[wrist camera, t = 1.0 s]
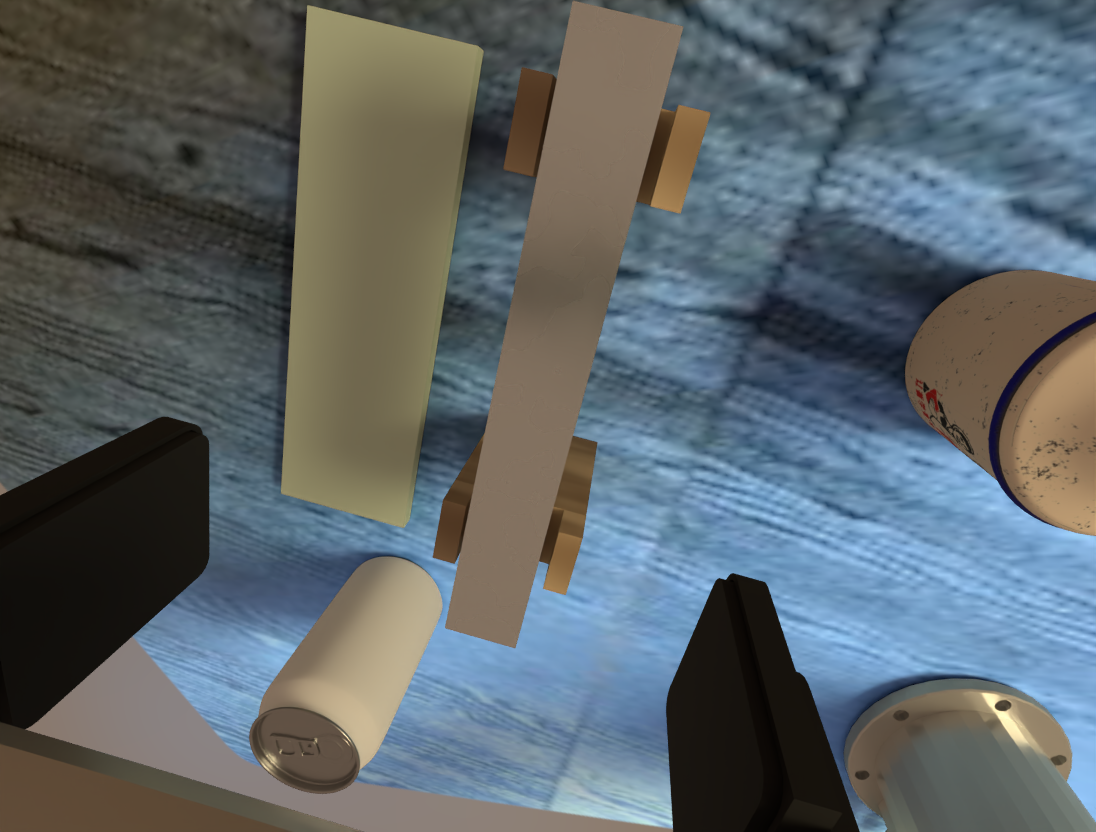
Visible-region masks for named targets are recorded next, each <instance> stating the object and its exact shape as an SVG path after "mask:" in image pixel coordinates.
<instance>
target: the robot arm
mask: <svg viewBox="0 0 1096 832" xmlns="http://www.w3.org/2000/svg"><path fill="white" fill-rule="evenodd" d="M208 560H209V440H208V439H207V437H206V436H204V435H203V433H202V430H201V428H200V427H199V426H197V425H195V424H192V423H188V422H184V421H181V420H177V419H173V418H170V417H161V418H158V419H156V420H154V421H152V422H149V423H147V424H145V425H143V426H141V427H139V428H137V429H135V430H133V431H131V432H129V433H127V434H125V435H123V436H121V437H119V438H117V439H115V440H113V441H111V442H108V443H106V444H104V445H102V446H100V447H98V448H96V449H94V450H92V451H90V452H88V453H86V454H84V455H82V456H80V457H78V458H76V459H74V460H72V461H70V462H67V463H65V464H63V465H61V466H59V467H57V468H55V469H53V470H51V471H49V472H47V473H45V474H43V475H41V476H39V477H37V478H35V479H33V480H31V481H29V482H27V483H24V484H22V485H20V486H18V487H16V488H14V489H12V490H10V491H8V492H6V493H4V494H2V495H0V832H363V831H360V830H357V829H353V828H350V827H347V826H344V825H341V824H337V823H334V822H331V821H327V820H324V819H321V818H318V817H314V816H311V815H308V814H304V813H301V812H298V811H295V810H291V809H288V808H285V807H281V806H278V805H275V804H271V803H268V802H265V801H262V800H258V799H255V798H251V797H248V796H245V795H242V794H239V793H235V792H232V791H228V790H225V789H222V788H219V787H216V786H212V785H209V784H205V783H202V782H199V781H196V780H192V779H189V778H186V777H182V776H179V775H176V774H173V773H169V772H166V771H162V770H159V769H156V768H152V767H149V766H146V765H143V764H139V763H136V762H132V761H129V760H126V759H122V758H119V757H116V756H112V755H109V754H105V753H102V752H99V751H95V750H92V749H89V748H85V747H82V746H79V745H75V744H72V743H69V742H65V741H62V740H59V739H55V738H52V737H48V736H45V735H41V734H38V733H34V732H31V731H28V730H25V729H26V728H29V727H30V726H32V725H33V724H34V723H36V722H37V721H38V720H39V719H40V718H42V717H43V716H44V715H45V714H46V713H47V712H48V711H50V710H51V709H52V708H53V707H54V706H55V705H56V704H57V703H58V702H60V701H61V700H62V699H63V698H64V697H65V696H66V695H67V694H68V693H70V692H71V691H72V690H73V689H74V688H75V687H76V686H77V685H79V684H80V683H81V682H82V681H83V680H84V679H85V678H86V677H87V676H89V675H90V674H91V673H92V672H93V671H94V670H95V669H96V668H98V666H100V665H101V664H102V663H103V662H104V661H105V660H106V659H108V658H109V657H110V656H111V655H112V654H113V653H114V652H115V651H116V650H118V649H119V648H120V647H121V646H122V645H123V644H124V643H125V642H126V641H128V640H129V639H130V638H131V637H132V636H133V635H134V634H135V633H137V632H138V631H139V630H140V629H141V628H142V627H143V626H144V625H145V624H147V623H148V622H149V621H150V620H151V619H152V618H153V617H154V616H155V615H157V614H158V613H159V612H160V611H161V610H162V609H163V608H164V607H166V606H167V605H168V604H169V603H170V602H171V601H172V600H173V599H174V598H176V597H177V596H178V595H179V594H180V593H181V592H182V591H183V590H184V589H186V588H187V587H188V586H189V585H190V584H191V583H192V582H193V581H195V580H196V579H197V578H198V577H199V576H200V575H201V574H202V572H203V571H204V569H205V568H206V565H207V563H208ZM666 717H667V734H668V750H669V767H670V784H671V801H672V818H673V832H860V831H859V829H858V826H857V823H856V820H855V817H854V814H853V811H852V808H851V806H850V803H849V800H848V797H847V794H846V791H845V788H844V785H843V783H842V780H841V777H840V774H839V771H838V768H837V765H836V762H835V760H834V757H833V754H832V751H831V748H830V745H829V742H828V739H827V737H826V734H825V731H824V728H823V725H822V722H821V719H820V716H819V714H818V711H817V708H816V705H815V702H814V699H813V696H812V693H811V690H810V688H809V685H808V683H807V681H806V679H805V677H804V676H803V675H801V674H800V673H798V672H796V670H795V667H794V664H793V661H792V658H791V655H790V652H789V649H788V646H787V643H786V640H785V637H784V634H783V631H782V628H781V625H780V622H779V619H778V616H777V613H776V610H775V607H774V604H773V601H772V598H771V595H770V592H769V589H768V586H767V584H766V583H765V582H763V581H759V580H756V579H752V578H748V577H745V576H741V575H738V574H734V573H732V574H730V575H729V576H728V578H727V579H726V580H724V579H720V578H719V579H717V580H716V582H715V583H714V585H713V588H712V590H711V592H710V595H709V597H708V599H707V602H706V604H705V606H704V609H703V611H702V614H701V616H700V618H699V621H698V623H697V625H696V628H695V630H694V632H693V635H692V637H691V639H690V642H689V644H688V646H687V649H686V651H685V653H684V656H683V658H682V660H681V663H680V665H679V667H678V670H677V672H676V674H675V677H674V679H673V681H672V684H671V686H670V689H669V692H668V696H667V703H666ZM844 762H845V768H846V771H847V773H848V776H849V779H850V782H851V785H852V787H853V788H854V790H855V792H856V794H857V796H858V797H859V798H860V799H861V800H862V801H863V802H864V804H865V805H866V806H867V807H868V808H869V809H871V810H872V811H874V812H875V813H876V814H878V815H879V816H880V817H882V818H883V820H884V822H885V825H886V827H887V830H886V831H885V832H1096V822H1095V820H1094V819H1093V818H1092V816H1091V815H1090V813H1089V812H1088V811H1087V809H1086V808H1085V806H1084V805H1083V804H1082V802H1081V801H1080V800H1079V798H1078V797H1077V795H1076V794H1075V793H1074V791H1073V790H1072V788H1071V787H1070V786H1069V784H1068V783H1067V779H1068V777H1069V774H1070V771H1071V768H1072V750H1071V746H1070V742H1069V739H1068V737H1067V736H1066V734H1065V732H1064V731H1063V729H1062V727H1061V726H1060V725H1059V723H1058V722H1057V721H1056V720H1055V718H1054V717H1053V716H1052V715H1051V714H1050V712H1049V711H1048V710H1047V709H1046V708H1045V707H1044V706H1042V705H1041V704H1040V703H1039V702H1037V701H1036V700H1035V699H1034V698H1032V697H1030V696H1028V695H1027V694H1025V693H1023V692H1021V691H1019V690H1017V689H1015V688H1012V687H1008V686H1005V685H1002V684H999V683H996V682H990V681H984V680H978V679H953V678H952V679H942V680H933V681H928V682H923V683H919V684H915V685H911V686H908V687H906V688H903V689H901V690H898V691H896V692H893V693H891V694H889V695H888V696H886V697H884V698H883V699H881V700H879V701H877V702H876V703H874V704H873V705H872V706H871V707H870V708H869V709H867V710H866V711H865V712H864V713H863V714H862V715H861V716H860V717H859V718H858V720H857V721H856V722H855V724H854V725H853V726H852V728H851V730H850V732H849V734H848V736H847V739H846V742H845V748H844Z"/></svg>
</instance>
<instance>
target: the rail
mask: <svg viewBox="0 0 1096 832" xmlns="http://www.w3.org/2000/svg"><path fill="white" fill-rule="evenodd" d="M682 30H683V26H679V25H674V24H670V23H666V22H661V21H657V20H653V19H649V18H644V17H640V16H636V15H632V14H627V13H623V12H619V11H615V10H610V9H606V8H602V7H597V6H593V5H589V4H585V3H580V2H576V1H573V3H572V8H571V13H570V18H569V23H568V28H567V32H566V37H565V42H564V47H563V52H562V57H561V62H560V67H559V72H558V77H557V81H556V86H555V91H554V96H553V101H552V106H551V111H550V116H549V121H548V126H547V130H546V135H545V140H544V145H543V150H542V155H541V160H540V165H539V170H538V175H537V179H536V184H535V189H534V194H533V199H532V204H531V209H530V214H529V219H528V224H527V228H526V233H525V238H524V243H523V248H522V253H521V258H520V263H519V268H518V273H517V278H516V282H515V287H514V292H513V297H512V302H511V307H510V312H509V317H508V322H507V327H506V331H505V336H504V341H503V346H502V351H501V356H500V361H499V366H498V371H497V376H496V380H495V385H494V390H493V395H492V400H491V405H490V410H489V415H488V420H487V425H486V429H485V434H484V439H483V444H482V449H481V454H480V459H479V464H478V469H477V474H476V478H475V483H474V488H473V493H472V498H471V503H470V508H469V513H468V518H467V523H466V527H465V532H464V537H463V542H462V547H461V552H460V557H459V562H458V567H457V572H456V577H455V581H454V586H453V591H452V596H451V601H450V606H449V611H448V616H447V621H446V626H445V628H446V629H450V630H453V631H457V632H460V633H464V634H467V635H471V636H474V637H478V638H481V639H485V640H488V641H492V642H495V643H498V644H502V645H505V646H509V647H512V648H516V644H517V640H518V637H519V633H520V629H521V625H522V622H523V618H524V614H525V611H526V607H527V603H528V600H529V596H530V592H531V588H532V585H533V581H534V577H535V574H536V570H537V566H538V563H539V559H540V555H541V551H542V548H543V544H544V540H545V537H546V533H547V529H548V526H549V522H550V518H551V515H552V511H553V507H554V503H555V500H556V496H557V492H558V489H559V485H560V481H561V478H562V474H563V470H564V466H565V463H566V459H567V455H568V452H569V448H570V444H571V441H572V437H573V433H574V429H575V426H576V422H577V418H578V415H579V411H580V407H581V404H582V400H583V396H584V392H585V389H586V385H587V381H588V378H589V374H590V370H591V367H592V363H593V359H594V355H595V352H596V348H597V344H598V341H599V337H600V333H601V330H602V326H603V322H604V318H605V315H606V311H607V307H608V304H609V300H610V296H611V293H612V289H613V285H614V281H615V278H616V274H617V270H618V267H619V263H620V259H621V256H622V252H623V248H624V244H625V241H626V237H627V233H628V230H629V226H630V222H631V219H632V215H633V211H634V207H635V204H636V200H637V196H638V193H639V189H640V185H641V182H642V178H643V174H644V170H645V167H646V163H647V159H648V156H649V152H650V148H651V145H652V141H653V137H654V133H655V130H656V126H657V122H658V119H659V115H660V111H661V108H662V104H663V100H664V96H665V93H666V89H667V85H668V82H669V78H670V74H671V71H672V67H673V63H674V60H675V56H676V52H677V48H678V45H679V41H680V37H681V34H682Z"/></svg>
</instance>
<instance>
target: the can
mask: <svg viewBox="0 0 1096 832" xmlns="http://www.w3.org/2000/svg"><path fill="white" fill-rule="evenodd" d="M441 612H442V598H441V595H440V592H439V589H438V587H437V585H436V583H435V582H434V580H433V579H432V578H431V576H430V575H429V574H428V573H427V572H426V571H425V570H424V569H423V568H421V567H420V566H418V565H417V564H415V563H413V562H411V561H409V560H406V559H403V558H398V557H377V558H373V559H370V560H368V561H366V562H364V563H362V564H361V565H360V566H359V567H358V568H357V569H356V570H355V571H354V572H353V574H352V575H351V576H350V578H349V579H348V580H347V582H346V583H345V584H344V586H343V587H342V588H341V590H340V591H339V592H338V594H337V595H336V596H335V598H334V599H333V600H332V602H331V603H330V604H329V606H328V607H327V608H326V610H325V611H324V612H323V614H322V615H321V616H320V618H319V619H318V621H317V622H316V623H315V625H314V626H313V627H312V629H311V630H310V631H309V633H308V634H307V635H306V637H305V638H304V639H303V641H302V642H301V644H300V645H299V646H298V648H297V649H296V650H295V652H294V653H293V654H292V656H291V657H290V659H289V660H288V661H287V663H286V664H285V665H284V667H283V668H282V670H281V671H280V672H279V674H278V675H277V676H276V678H275V679H274V681H273V682H272V683H271V685H270V686H269V688H268V689H267V691H266V693H265V694H264V696H263V699H262V702H261V705H260V710H259V716H258V718H257V719H256V720H255V721H254V723H253V724H252V727H251V729H250V735H249V740H250V746H251V749H252V751H253V754H254V756H255V757H256V759H257V760H258V762H259V763H260V764H261V766H262V767H263V768H264V769H265V770H266V771H267V772H268V773H269V774H271V775H272V776H273V777H275V778H276V779H277V780H279V781H281V782H282V783H284V784H286V785H288V786H290V787H293V788H295V789H298V790H301V791H305V792H310V793H317V794H327V793H334V792H338V791H340V790H343V789H345V788H347V787H348V786H349V785H351V784H352V783H353V782H354V780H355V779H356V777H357V775H358V773H359V770H360V769H361V768H363V767H364V766H365V765H366V764H367V763H368V762H370V761H371V759H372V758H373V757H374V756H375V754H376V753H377V751H378V749H379V748H380V746H381V743H382V741H383V739H384V737H385V735H386V733H387V731H388V729H389V727H390V725H391V723H392V720H393V718H394V716H395V714H396V712H397V710H398V708H399V705H400V703H401V701H402V699H403V697H404V695H405V692H406V690H407V688H408V686H409V684H410V682H411V679H412V677H413V675H414V673H415V671H416V668H417V666H418V664H419V662H420V660H421V658H422V655H423V653H424V651H425V649H426V647H427V644H428V642H429V640H430V638H431V636H432V633H433V631H434V629H435V627H436V624H437V622H438V620H439V617H440V615H441Z"/></svg>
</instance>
